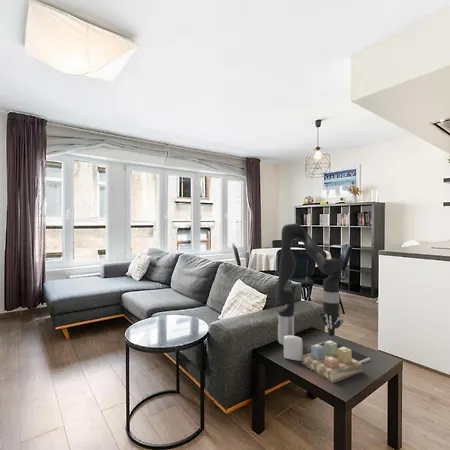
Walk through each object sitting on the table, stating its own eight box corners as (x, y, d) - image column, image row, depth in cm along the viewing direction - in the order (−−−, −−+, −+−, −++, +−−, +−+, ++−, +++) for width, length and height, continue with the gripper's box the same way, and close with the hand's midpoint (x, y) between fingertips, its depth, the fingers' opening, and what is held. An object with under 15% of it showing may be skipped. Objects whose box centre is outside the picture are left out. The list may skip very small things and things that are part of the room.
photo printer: (283, 358, 155) (282, 336, 155) (284, 355, 159) (284, 333, 159) (302, 362, 151) (302, 338, 151) (303, 358, 155) (303, 335, 155)
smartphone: (354, 367, 146) (354, 364, 146) (314, 347, 170) (314, 344, 170) (371, 361, 152) (371, 358, 152) (330, 342, 176) (330, 339, 176)
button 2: (323, 353, 152) (323, 341, 152) (330, 351, 154) (330, 339, 154) (330, 356, 148) (330, 344, 147) (337, 354, 150) (336, 342, 150)
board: (302, 364, 149) (302, 355, 149) (330, 355, 158) (329, 347, 158) (332, 383, 131) (332, 373, 131) (361, 372, 140) (361, 362, 140)
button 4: (337, 360, 144) (337, 347, 144) (344, 358, 146) (343, 345, 146) (345, 364, 139) (345, 351, 139) (351, 362, 142) (351, 349, 142)
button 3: (324, 370, 140) (324, 357, 139) (331, 368, 142) (331, 355, 142) (332, 375, 135) (331, 361, 135) (338, 372, 138) (338, 359, 137)
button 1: (311, 357, 148) (311, 344, 147) (317, 355, 150) (317, 343, 150) (317, 360, 143) (317, 348, 143) (324, 358, 146) (324, 346, 145)
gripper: (315, 298, 142) (315, 332, 143) (336, 304, 130) (336, 342, 131) (326, 295, 146) (326, 329, 146) (347, 302, 134) (348, 339, 134)
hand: (331, 335), depth 138 cm, fingers closed
